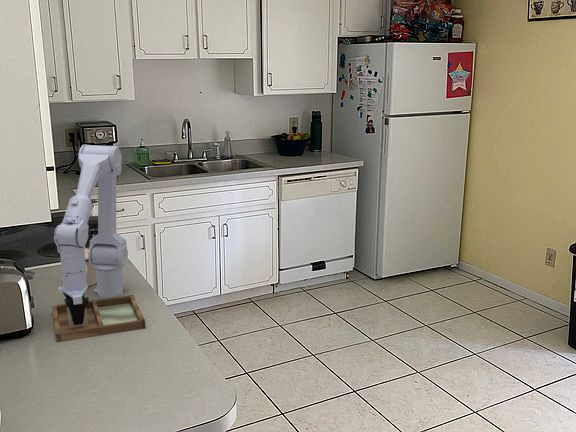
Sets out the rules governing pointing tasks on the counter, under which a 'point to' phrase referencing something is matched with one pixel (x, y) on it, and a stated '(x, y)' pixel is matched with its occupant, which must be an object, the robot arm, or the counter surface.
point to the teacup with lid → (89, 270)
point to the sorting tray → (100, 318)
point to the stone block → (72, 320)
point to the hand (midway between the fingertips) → (77, 319)
